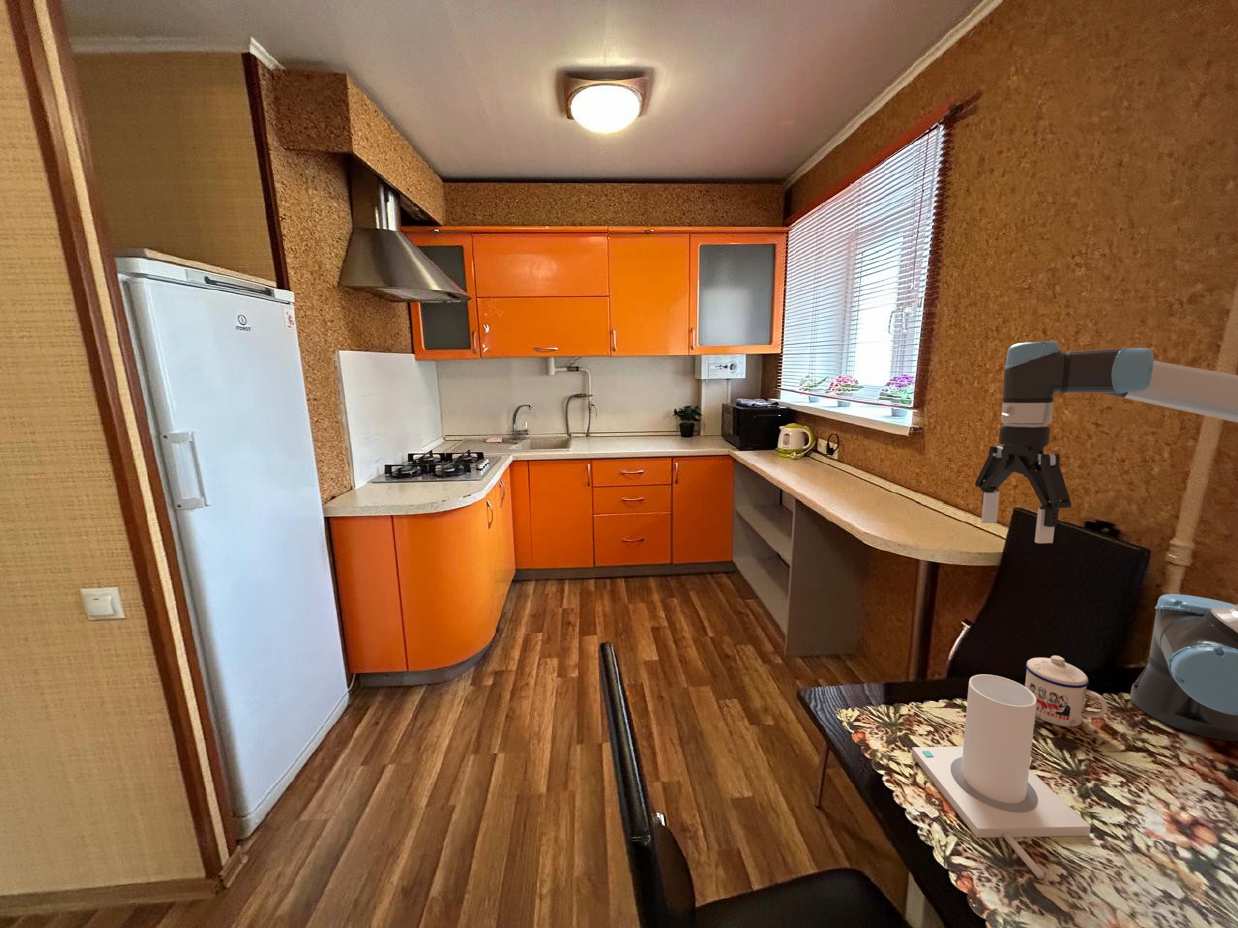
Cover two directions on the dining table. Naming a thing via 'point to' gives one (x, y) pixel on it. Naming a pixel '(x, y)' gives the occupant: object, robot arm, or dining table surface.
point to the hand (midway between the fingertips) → (1014, 532)
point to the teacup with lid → (1060, 691)
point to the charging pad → (1000, 804)
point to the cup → (998, 737)
